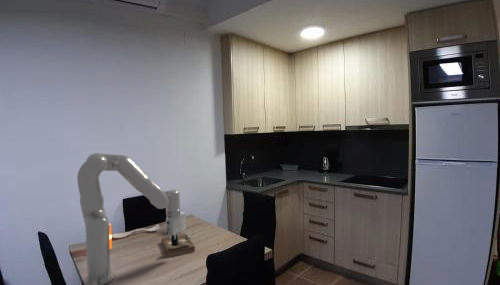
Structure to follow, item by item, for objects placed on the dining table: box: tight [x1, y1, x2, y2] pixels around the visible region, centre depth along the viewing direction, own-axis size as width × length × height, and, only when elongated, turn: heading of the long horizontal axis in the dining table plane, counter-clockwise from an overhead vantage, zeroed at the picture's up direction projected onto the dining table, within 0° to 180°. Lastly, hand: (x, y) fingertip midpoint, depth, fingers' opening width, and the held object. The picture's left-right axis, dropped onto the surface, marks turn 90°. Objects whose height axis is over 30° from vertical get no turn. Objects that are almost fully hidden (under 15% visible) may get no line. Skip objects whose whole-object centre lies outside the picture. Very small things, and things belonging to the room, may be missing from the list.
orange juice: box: [109, 222, 113, 250], centre depth 163 cm, size 8×9×20 cm
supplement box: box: [179, 211, 187, 234], centre depth 192 cm, size 7×7×13 cm
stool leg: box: [167, 238, 192, 249], centre depth 156 cm, size 13×3×4 cm, turn 117°
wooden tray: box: [161, 232, 196, 258], centre depth 164 cm, size 24×15×6 cm, turn 27°
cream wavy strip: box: [111, 224, 162, 239], centre depth 186 cm, size 9×32×4 cm, turn 120°
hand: (174, 245), depth 149 cm, fingers closed
